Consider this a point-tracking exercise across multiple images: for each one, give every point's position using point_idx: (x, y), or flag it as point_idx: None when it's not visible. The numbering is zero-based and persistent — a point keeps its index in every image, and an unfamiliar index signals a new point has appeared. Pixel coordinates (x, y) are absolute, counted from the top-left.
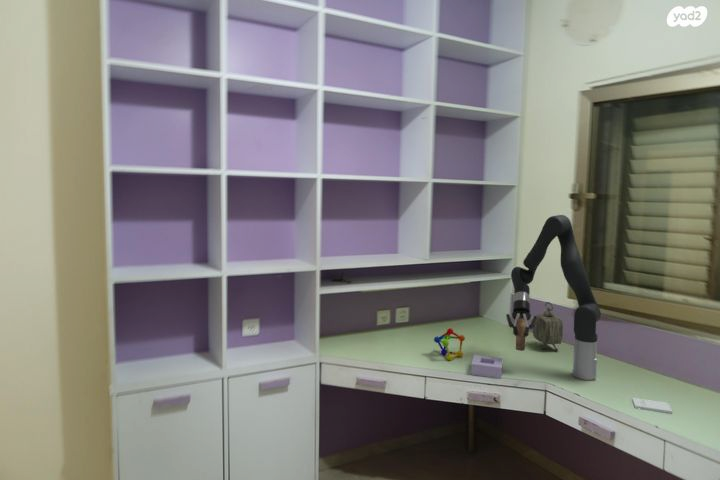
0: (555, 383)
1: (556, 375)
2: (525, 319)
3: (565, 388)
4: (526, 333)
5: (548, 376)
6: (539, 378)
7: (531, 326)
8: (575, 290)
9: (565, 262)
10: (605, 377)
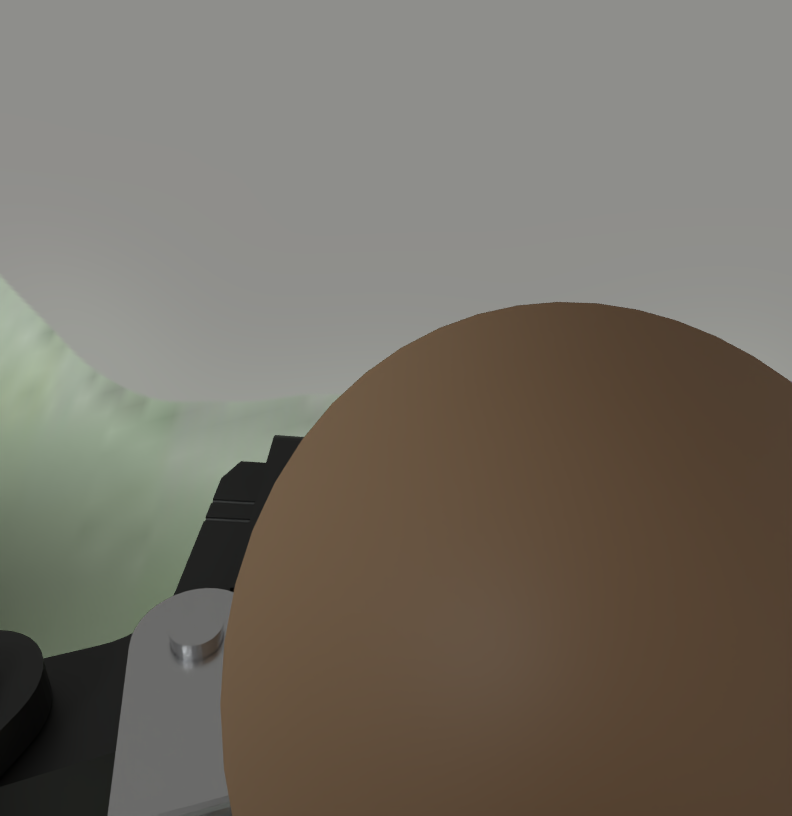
0: (80, 413)
1: (5, 622)
2: (249, 758)
3: (26, 331)
4: (285, 443)
5: (98, 567)
6: (197, 489)
7: (5, 635)
8: None
9: None
10: None
